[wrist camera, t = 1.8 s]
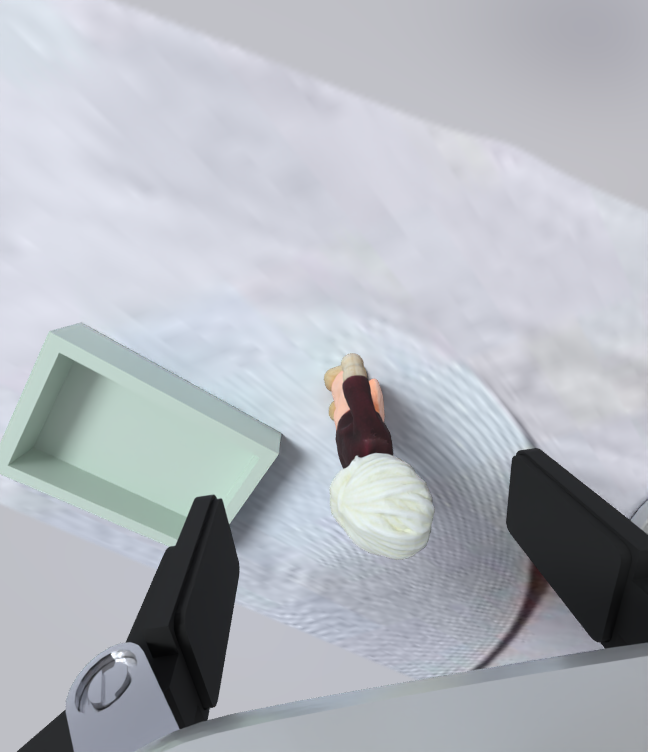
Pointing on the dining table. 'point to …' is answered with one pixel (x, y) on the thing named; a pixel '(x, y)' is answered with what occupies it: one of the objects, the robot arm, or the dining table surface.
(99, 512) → the tray
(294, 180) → the dining table surface
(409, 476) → the grandmother figurine
